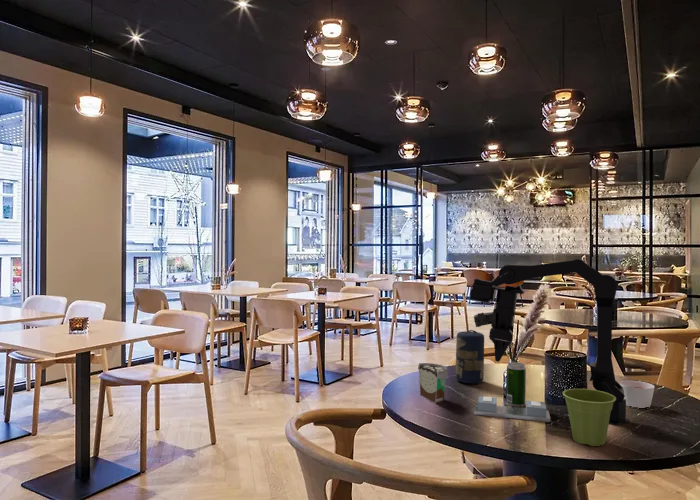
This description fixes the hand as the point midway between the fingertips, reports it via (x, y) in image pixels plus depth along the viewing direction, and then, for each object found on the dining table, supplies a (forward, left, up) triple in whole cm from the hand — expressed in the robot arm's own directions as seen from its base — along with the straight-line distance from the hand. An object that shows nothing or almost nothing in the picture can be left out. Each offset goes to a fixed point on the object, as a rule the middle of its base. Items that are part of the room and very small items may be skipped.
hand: (497, 357), depth 153 cm
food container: (+12, +13, -14) cm, 23 cm away
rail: (-9, +3, -14) cm, 17 cm away
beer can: (-3, -5, -14) cm, 15 cm away
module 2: (-13, -2, -14) cm, 19 cm away
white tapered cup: (-20, -37, -14) cm, 44 cm away
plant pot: (-32, +1, -14) cm, 35 cm away
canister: (+23, -10, -14) cm, 29 cm away
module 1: (-4, +8, -13) cm, 15 cm away
